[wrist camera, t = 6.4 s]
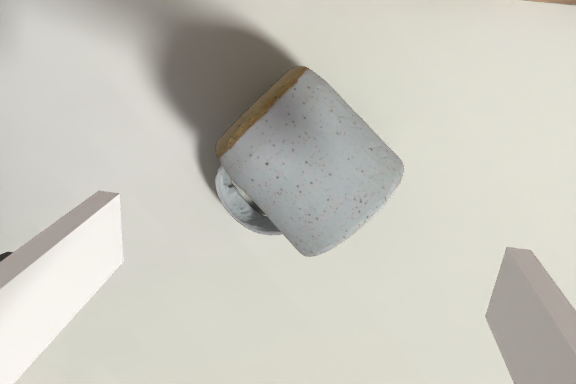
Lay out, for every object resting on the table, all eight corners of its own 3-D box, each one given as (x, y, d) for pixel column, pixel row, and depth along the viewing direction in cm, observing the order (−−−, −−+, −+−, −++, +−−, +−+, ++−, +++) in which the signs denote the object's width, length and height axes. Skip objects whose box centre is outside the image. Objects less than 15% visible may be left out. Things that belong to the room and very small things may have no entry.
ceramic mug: (306, 48, 27) (289, 65, 20) (400, 146, 28) (416, 195, 21) (193, 165, 31) (145, 215, 24) (281, 247, 32) (260, 317, 25)
